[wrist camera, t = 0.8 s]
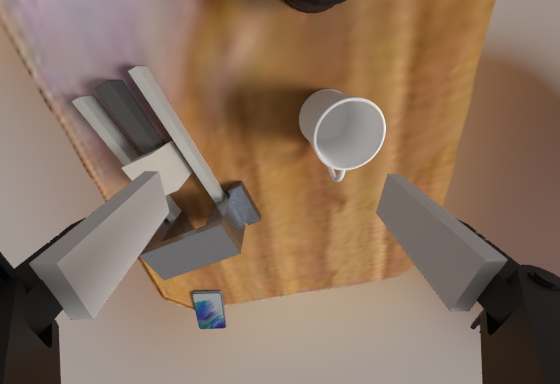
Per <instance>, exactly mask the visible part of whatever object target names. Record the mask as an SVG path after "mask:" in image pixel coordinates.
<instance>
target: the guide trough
mask: <svg viewBox="0 0 560 384" xmlns="http://www.w3.org/2000/svg"><path fill="white" fill-rule="evenodd" d="M128 72H129V74H130V75H131V77H132V78H133V80H134V81H135V83H136V84H137V86H138V87H139V89H140V90H141V92H142V93H143V95H144V96H145V98H146V99H147V101H148V102H149V104H150V105H151V107H152V108H153V110H154V112H155V113H156V115H157V116H158V118H159V119H160V121H161V122H162V124H163V125H164V127H165V128H166V130H167V131H168V133H169V134H170V136H171V137H172V139H173V140H174V142H175V143H176V145H177V146H178V148H179V149H180V151H181V152H182V154H183V155H184V157H185V158H186V160H187V161H188V163H189V164H190V166H191V167H192V169H193V170H194V172H195V174H196V175H197V177H198V178H199V180H200V181H201V183H202V184H203V186H204V187H205V189H206V190H207V192H208V193H209V195H210V196H211V198H212V199H213V201H214V202H215V203H216V202H219V201H221V200H223V198H224V195H225V192H224V191H223V189H222V187H221V186H220V184H219V182H218V181H217V179H216V178H215V176H214V174H213V173H212V171H211V170H210V168H209V166H208V165H207V163H206V161H205V160H204V158H203V157H202V155H201V153H200V152H199V150H198V149H197V147H196V145H195V144H194V142H193V140H192V139H191V137H190V136H189V134H188V132H187V131H186V129H185V128H184V126H183V124H182V123H181V121H180V119H179V118H178V116H177V115H176V113H175V111H174V110H173V108H172V106H171V105H170V103H169V102H168V100H167V98H166V97H165V95H164V94H163V92H162V90H161V89H160V87H159V85H158V84H157V82H156V81H155V79H154V77H153V76H152V74H151V73H150V71H149V69H148V68H147V67H143V66H136V67H134V68H133V69H131V70H129V71H128ZM71 102H72V103H73V104H74V105H75V107H76V108H77V109H78V110H79V111H80V113H81V114H82V115H83V116H84V117H85V119H86V120H87V121H88V122H89V124H90V125H91V126H92V127H93V128H94V130H95V131H96V132H97V133H98V135H99V136H100V137H101V138H102V139H103V141H104V142H105V143H106V144H107V146H108V147H109V148H110V149H111V150H112V152H113V153H114V154H115V155H116V157H117V158H118V159H119V160H120V161H121V163H122V164H123V165H124V166H125V165H127V164H128V163H130V162H132V161H133V160H135V159H136V158H138V157H140V156H139V155H138V153H137V152H136V151H135V149H134V148H133V147H132V146H131V144H130V143H129V142H128V140H127V139H126V138H125V136H124V135H123V134H122V132H121V131H120V130H119V129H118V127H117V126H116V125H115V123H114V122H113V121H112V119H111V118H110V117H109V115H108V114H107V113H106V112H105V110H104V109H103V108H102V106H101V105H100V104H99V102H98V101H97V100H96V99H95V97H94V96H84V97H79V98H77V99H75V100H73V101H71ZM165 197H166V201H167V205H168V209H169V214H168V215H167V216H166V217H167V219H168V220H169V221H171V220H174V219H176V218H177V217H178V215H179V214H180V212H181V210H180V208H179V207H178V206H177V204H176V203H175V202H174V200H173V199H172V198H171V197H170V195H169V194H168V195H165Z"/></svg>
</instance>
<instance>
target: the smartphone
mask: <svg viewBox="0 0 560 384" xmlns="http://www.w3.org/2000/svg"><path fill="white" fill-rule="evenodd" d="M192 298H193V302H194V307H195V311H196V315H197V320H198V324H199V327H200V329H215V328H225V327H226V319H225V311H224V303H223V295H222V291H221V290H203V291H193V292H192Z"/></svg>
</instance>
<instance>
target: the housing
mask: <svg viewBox="0 0 560 384" xmlns="http://www.w3.org/2000/svg"><path fill="white" fill-rule="evenodd" d="M260 219H261V214H260V212H259V211H258V209H257V207H256V205H255V203H254V202H253V200H252V198H251V196H250V194H249V193H248V191H247V189H246V187H245V185H244V184H243V182H242V181H241V182H238V183H236V184H233V185H231V186H230V187H229V189H228V192H227V193H225V195H224V198H223V200H221V201H219V202H216V203H215V204H214V206H213V209H212V211H211V213H210V216H209V218H208V220H207V222H206V225H205V226H202V227H200V228H197V229H195V228H194V227H193V225H192V224H191V223H190V221H189V220H188V219H187V217H186V216H185V215H184V214H183V212H182V211H181V212H180V214H179V215H178V217H177V218H176V219H174V220H171V221H169V220H168V219H167V217H166V218H165V219H164V221H163V222H162V223H161V225H160V226H159V228H158V229H157V230H156V231H157V232H156V233H155V235H154V236H153V238H152V239H151V240H150V242H149V243H148V244H147V246H146V247H145V248H144V250H143V251H142V253H141V254H140V255H139V256H140V257H141V258H142V259H143V260H144V261H145V262H146V263H147V264H148V265H149V266H150V267H151V268H152V269H153V270H154V271H155V272H156V273H157V274H158V275H159V276H160V277H161V278H162V279H163V280H166V279H169V278H172V277H175V276H178V275H181V274H184V273H186V272H189V271H192V270H195V269H198V268H201V267H204V266H206V265H209V264H212V263H215V262H218V261H221V260H224V259H227V258H229V257H232V256H235V255H238V254H241V248H242V242H243V236H244V230H245V224H246V222H247V223H248V225H250V224H253V223H255V222H258V221H260Z"/></svg>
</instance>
